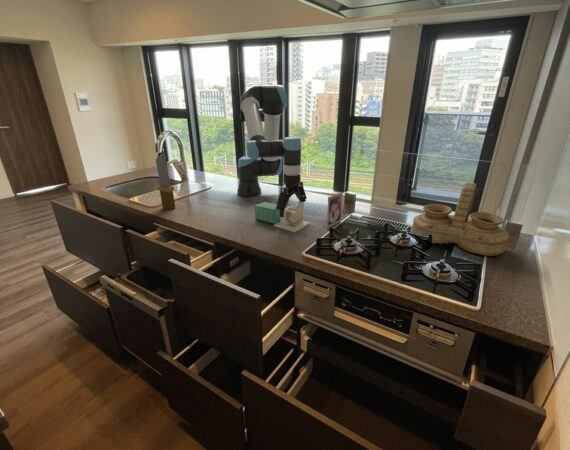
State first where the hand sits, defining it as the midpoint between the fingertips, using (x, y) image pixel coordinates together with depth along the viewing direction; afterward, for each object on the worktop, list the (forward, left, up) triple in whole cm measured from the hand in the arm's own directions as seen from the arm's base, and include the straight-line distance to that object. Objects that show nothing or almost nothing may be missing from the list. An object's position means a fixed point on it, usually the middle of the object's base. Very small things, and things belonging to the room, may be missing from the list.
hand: (292, 218), depth 139 cm
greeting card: (-12, +13, -3) cm, 18 cm away
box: (+2, -12, -3) cm, 12 cm away
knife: (+21, -69, -3) cm, 72 cm away
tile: (0, 0, -3) cm, 3 cm away
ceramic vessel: (-25, +64, -4) cm, 69 cm away
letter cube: (0, 0, -2) cm, 2 cm away
